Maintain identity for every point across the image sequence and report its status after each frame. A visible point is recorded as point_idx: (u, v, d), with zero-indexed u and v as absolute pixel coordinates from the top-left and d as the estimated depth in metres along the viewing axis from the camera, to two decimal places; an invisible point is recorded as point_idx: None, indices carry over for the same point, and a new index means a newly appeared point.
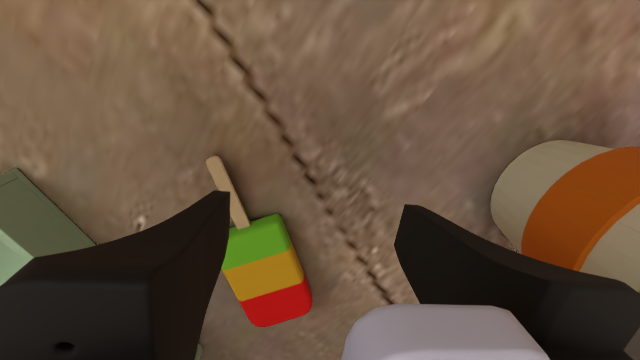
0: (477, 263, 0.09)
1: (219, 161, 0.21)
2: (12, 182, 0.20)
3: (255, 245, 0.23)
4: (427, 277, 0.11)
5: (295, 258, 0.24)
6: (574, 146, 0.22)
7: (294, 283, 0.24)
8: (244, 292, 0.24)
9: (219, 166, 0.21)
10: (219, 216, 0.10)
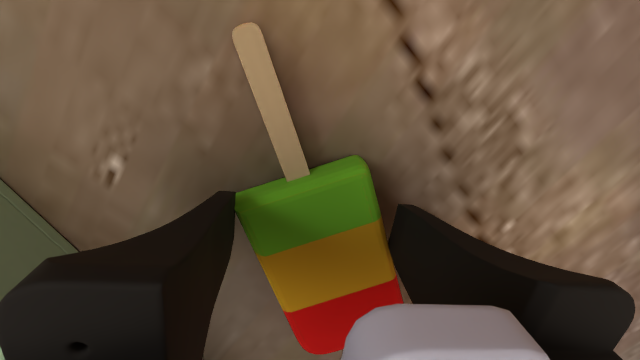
0: (467, 263, 0.08)
1: (258, 34, 0.10)
2: None
3: (321, 209, 0.12)
4: (419, 277, 0.11)
5: (385, 236, 0.14)
6: None
7: (381, 281, 0.14)
8: (294, 297, 0.14)
9: (258, 44, 0.10)
10: (225, 216, 0.10)
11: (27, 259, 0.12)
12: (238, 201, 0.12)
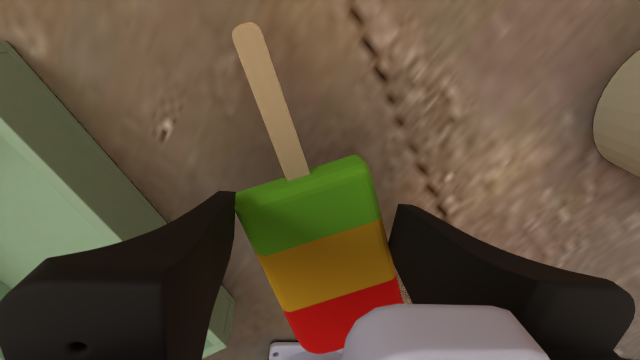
0: (468, 263, 0.08)
1: (259, 34, 0.10)
2: (2, 55, 0.15)
3: (321, 209, 0.12)
4: (420, 277, 0.11)
5: (385, 235, 0.14)
6: None
7: (381, 281, 0.14)
8: (294, 297, 0.14)
9: (258, 44, 0.10)
10: (225, 216, 0.10)
11: (110, 188, 0.17)
12: (238, 201, 0.12)
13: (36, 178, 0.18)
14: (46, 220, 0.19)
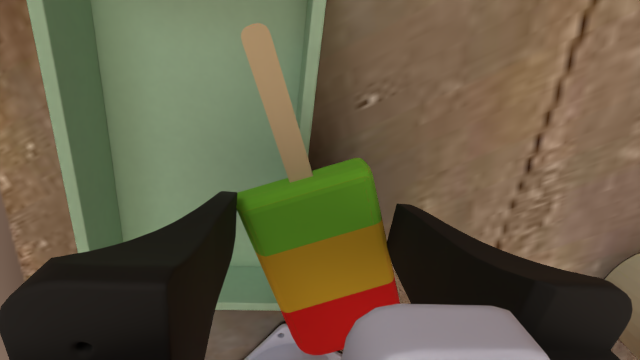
0: (465, 262, 0.08)
1: (268, 35, 0.10)
2: None
3: (323, 211, 0.12)
4: (418, 277, 0.11)
5: (385, 239, 0.14)
6: None
7: (379, 284, 0.14)
8: (293, 298, 0.14)
9: (266, 45, 0.10)
10: (227, 216, 0.10)
11: None
12: (240, 200, 0.12)
13: (239, 65, 0.17)
14: (209, 104, 0.18)
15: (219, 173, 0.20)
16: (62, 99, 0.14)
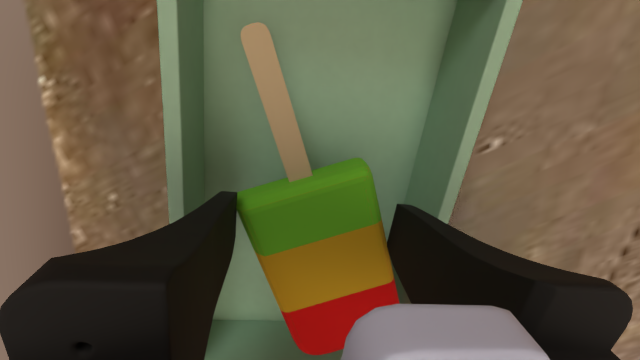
0: (465, 262, 0.08)
1: (267, 35, 0.10)
2: None
3: (323, 211, 0.12)
4: (418, 277, 0.11)
5: (385, 238, 0.14)
6: None
7: (379, 283, 0.14)
8: (293, 298, 0.14)
9: (266, 45, 0.10)
10: (227, 216, 0.10)
11: None
12: (240, 200, 0.12)
13: (360, 109, 0.15)
14: (320, 152, 0.16)
15: None
16: (182, 160, 0.12)
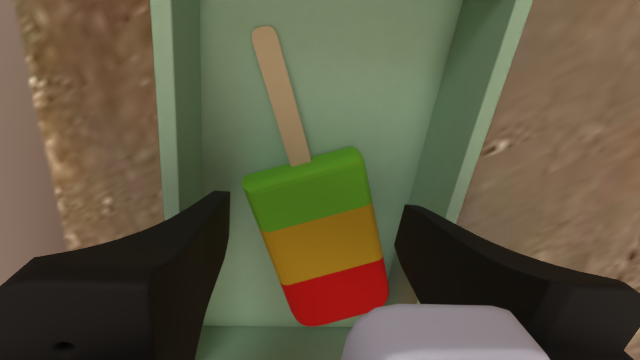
0: (477, 263, 0.09)
1: (274, 36, 0.12)
2: None
3: (320, 192, 0.14)
4: (427, 277, 0.11)
5: (375, 220, 0.15)
6: None
7: (369, 261, 0.16)
8: (292, 271, 0.15)
9: (273, 45, 0.12)
10: (219, 216, 0.10)
11: None
12: (247, 181, 0.14)
13: (362, 110, 0.14)
14: None
15: None
16: (178, 164, 0.11)
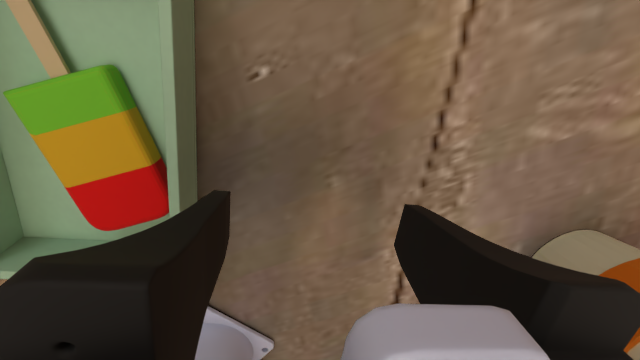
0: (477, 263, 0.09)
1: None
2: None
3: (71, 99, 0.16)
4: (427, 277, 0.11)
5: (139, 130, 0.18)
6: (628, 245, 0.25)
7: (138, 166, 0.18)
8: (68, 174, 0.18)
9: None
10: (219, 216, 0.10)
11: (187, 88, 0.17)
12: None
13: (116, 33, 0.17)
14: None
15: None
16: None
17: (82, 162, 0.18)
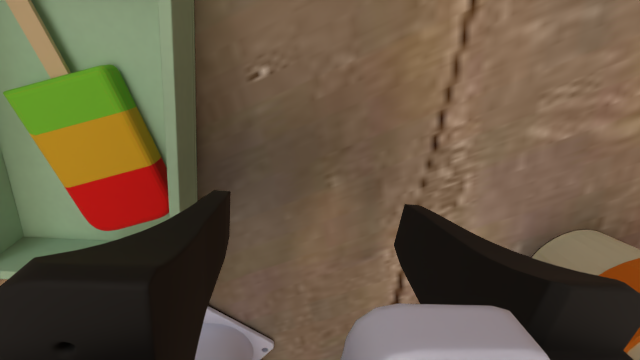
0: (477, 263, 0.09)
1: None
2: None
3: (71, 99, 0.16)
4: (427, 277, 0.11)
5: (139, 130, 0.18)
6: (628, 245, 0.25)
7: (138, 166, 0.18)
8: (68, 174, 0.18)
9: None
10: (219, 216, 0.10)
11: (187, 88, 0.17)
12: None
13: (116, 33, 0.17)
14: None
15: None
16: None
17: (82, 162, 0.18)
